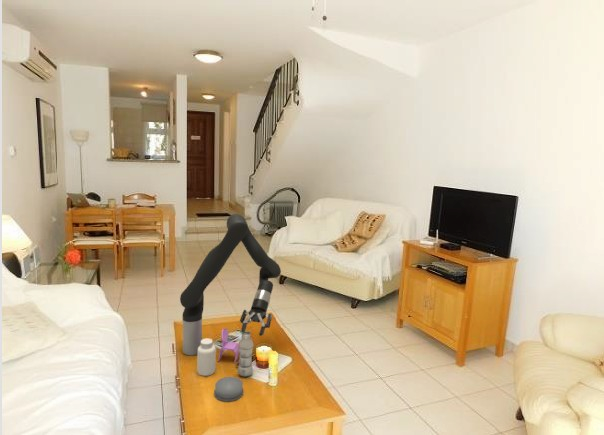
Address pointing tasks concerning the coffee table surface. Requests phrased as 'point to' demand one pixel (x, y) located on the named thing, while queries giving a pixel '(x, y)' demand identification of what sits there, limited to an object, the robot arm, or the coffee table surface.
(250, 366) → the plastic bottle
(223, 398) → the slate plinth
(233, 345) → the toy chair
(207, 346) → the pill bottle
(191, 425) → the coffee table surface
